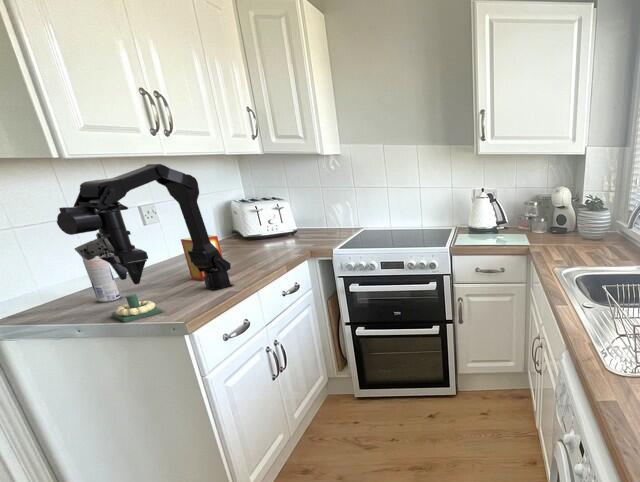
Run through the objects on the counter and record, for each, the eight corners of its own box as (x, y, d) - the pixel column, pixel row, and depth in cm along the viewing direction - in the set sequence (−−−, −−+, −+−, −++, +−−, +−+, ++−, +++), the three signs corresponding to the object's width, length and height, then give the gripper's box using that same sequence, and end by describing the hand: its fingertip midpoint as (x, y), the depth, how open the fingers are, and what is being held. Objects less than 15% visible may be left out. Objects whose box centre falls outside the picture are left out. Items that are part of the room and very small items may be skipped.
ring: (148, 304, 131) (146, 298, 130) (161, 309, 127) (159, 303, 126) (111, 313, 124) (109, 307, 123) (124, 318, 119) (121, 312, 119)
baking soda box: (203, 280, 159) (191, 239, 153) (191, 279, 161) (180, 238, 156) (226, 274, 167) (217, 235, 162) (215, 272, 169) (205, 234, 164)
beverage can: (125, 297, 141) (110, 254, 136) (108, 302, 136) (92, 258, 131) (110, 296, 142) (94, 254, 136) (93, 302, 136) (76, 258, 131)
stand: (149, 307, 132) (142, 289, 129) (161, 312, 127) (155, 293, 125) (112, 316, 124) (105, 297, 122) (124, 322, 120) (117, 302, 118)
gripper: (60, 229, 113) (81, 284, 118) (85, 236, 104) (106, 294, 109) (113, 224, 122) (130, 274, 127) (140, 229, 113) (157, 283, 118)
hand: (130, 281), depth 120 cm, fingers open, 9 cm apart
